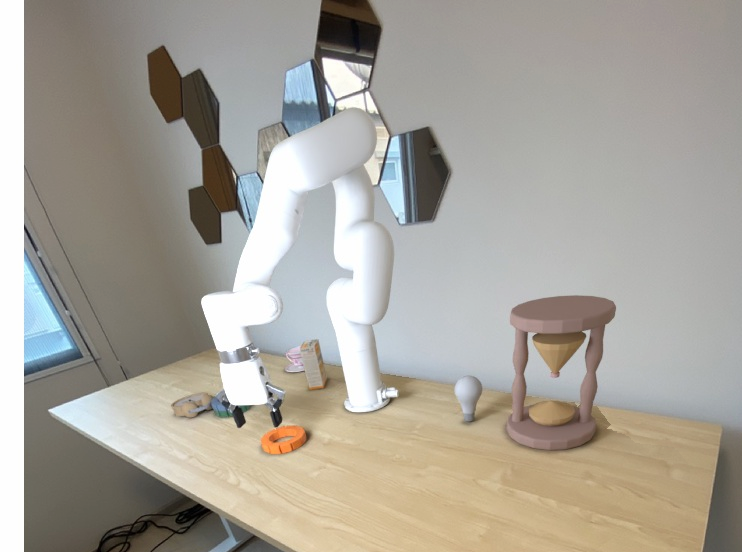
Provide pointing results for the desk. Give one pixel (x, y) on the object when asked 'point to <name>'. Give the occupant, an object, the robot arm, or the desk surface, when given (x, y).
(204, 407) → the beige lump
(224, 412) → the ring stack
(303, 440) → the orange ring
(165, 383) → the desk surface
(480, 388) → the lightbulb
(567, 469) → the desk surface
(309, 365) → the supplement box
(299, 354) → the teacup
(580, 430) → the hourglass
